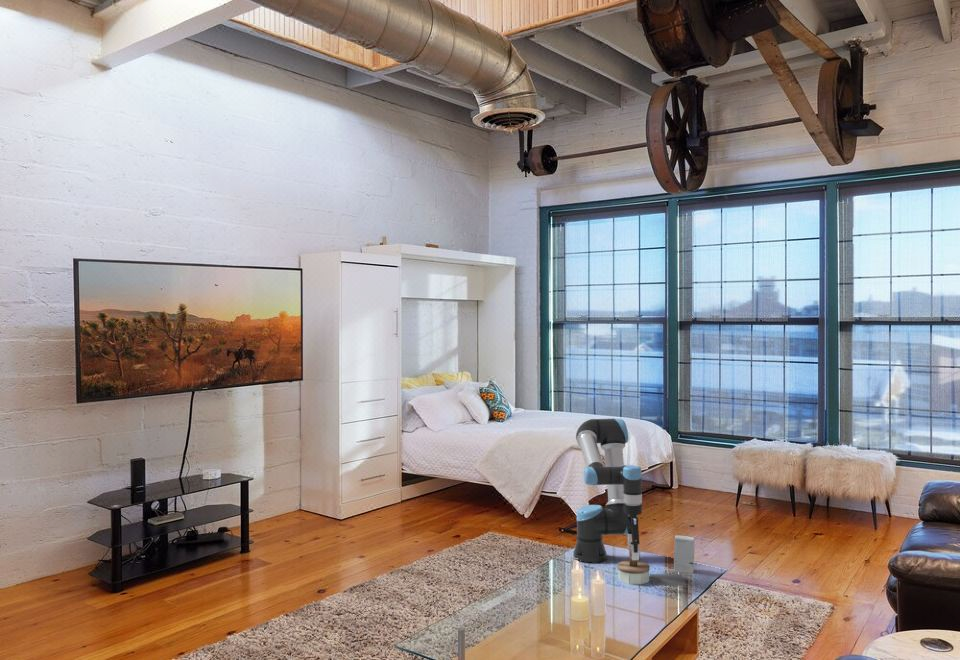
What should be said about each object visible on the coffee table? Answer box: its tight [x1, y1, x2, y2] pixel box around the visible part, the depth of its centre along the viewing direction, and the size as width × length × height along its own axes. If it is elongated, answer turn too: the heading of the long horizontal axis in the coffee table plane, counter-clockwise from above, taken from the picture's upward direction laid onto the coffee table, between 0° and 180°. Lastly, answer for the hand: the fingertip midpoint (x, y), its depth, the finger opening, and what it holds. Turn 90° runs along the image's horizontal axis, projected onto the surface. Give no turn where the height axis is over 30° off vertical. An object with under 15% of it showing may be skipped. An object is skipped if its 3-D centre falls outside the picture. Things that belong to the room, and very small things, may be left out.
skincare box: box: [673, 534, 695, 574], centre depth 308 cm, size 8×6×15 cm
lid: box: [617, 545, 650, 574], centre depth 298 cm, size 13×13×9 cm
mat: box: [649, 573, 688, 587], centre depth 297 cm, size 13×13×1 cm
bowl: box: [617, 568, 650, 585], centre depth 298 cm, size 12×12×5 cm
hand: (633, 554), depth 298 cm, fingers open, 13 cm apart
